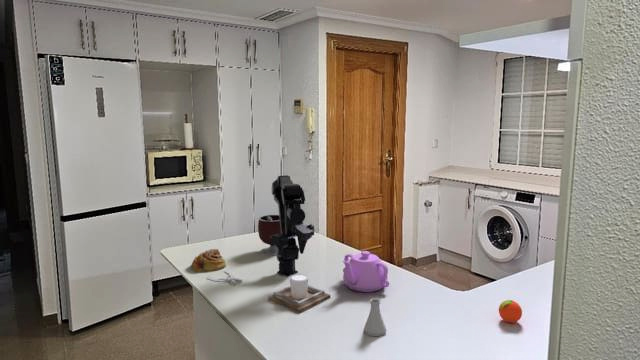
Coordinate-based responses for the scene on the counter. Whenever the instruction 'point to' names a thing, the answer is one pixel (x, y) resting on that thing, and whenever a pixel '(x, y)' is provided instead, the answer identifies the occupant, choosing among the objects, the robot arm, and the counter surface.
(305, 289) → the shot glass
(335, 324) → the counter surface
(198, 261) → the pastry
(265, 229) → the dark red goblet shape
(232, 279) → the pliers
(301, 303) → the brown square tray
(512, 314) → the clementine
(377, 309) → the flask
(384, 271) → the teapot
